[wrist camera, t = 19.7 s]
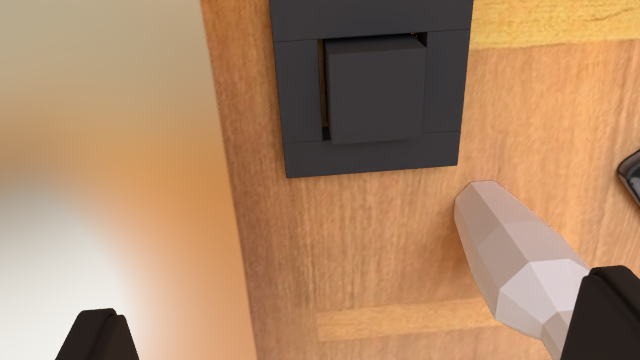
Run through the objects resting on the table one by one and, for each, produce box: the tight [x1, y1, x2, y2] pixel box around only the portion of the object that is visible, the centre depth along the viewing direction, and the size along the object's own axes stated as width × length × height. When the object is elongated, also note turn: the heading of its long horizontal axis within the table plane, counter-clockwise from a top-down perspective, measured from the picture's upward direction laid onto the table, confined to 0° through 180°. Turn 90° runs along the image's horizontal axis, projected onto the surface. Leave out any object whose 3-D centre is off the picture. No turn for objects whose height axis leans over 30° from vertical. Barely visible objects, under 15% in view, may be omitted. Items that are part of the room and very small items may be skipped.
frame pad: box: [269, 0, 473, 178], centre depth 33 cm, size 13×13×2 cm
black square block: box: [323, 33, 427, 145], centre depth 33 cm, size 6×6×4 cm
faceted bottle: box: [454, 180, 591, 360], centre depth 31 cm, size 6×6×22 cm
